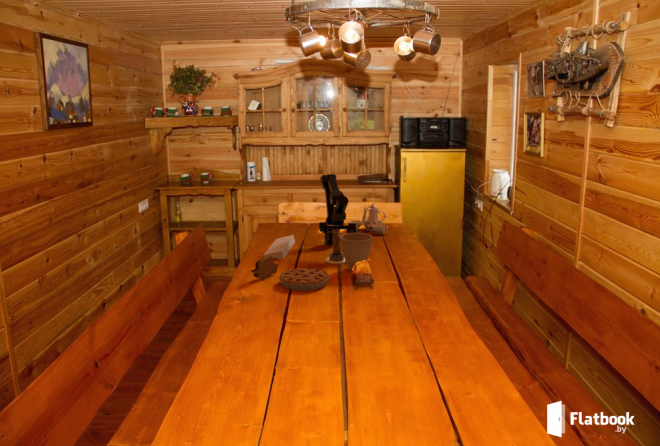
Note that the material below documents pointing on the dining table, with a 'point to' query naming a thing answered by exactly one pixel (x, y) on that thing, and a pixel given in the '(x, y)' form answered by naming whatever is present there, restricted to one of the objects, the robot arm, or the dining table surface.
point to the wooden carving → (265, 268)
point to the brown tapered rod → (336, 242)
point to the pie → (304, 278)
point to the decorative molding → (280, 247)
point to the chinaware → (371, 221)
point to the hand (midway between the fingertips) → (336, 242)
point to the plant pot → (355, 247)
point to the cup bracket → (336, 259)
